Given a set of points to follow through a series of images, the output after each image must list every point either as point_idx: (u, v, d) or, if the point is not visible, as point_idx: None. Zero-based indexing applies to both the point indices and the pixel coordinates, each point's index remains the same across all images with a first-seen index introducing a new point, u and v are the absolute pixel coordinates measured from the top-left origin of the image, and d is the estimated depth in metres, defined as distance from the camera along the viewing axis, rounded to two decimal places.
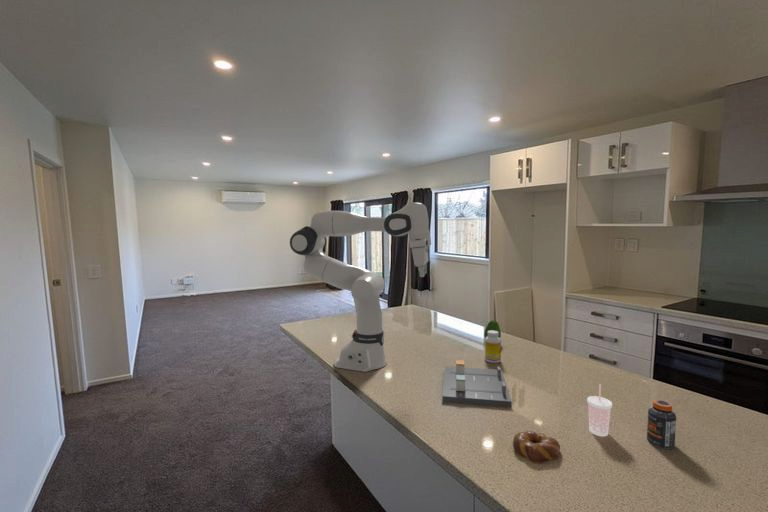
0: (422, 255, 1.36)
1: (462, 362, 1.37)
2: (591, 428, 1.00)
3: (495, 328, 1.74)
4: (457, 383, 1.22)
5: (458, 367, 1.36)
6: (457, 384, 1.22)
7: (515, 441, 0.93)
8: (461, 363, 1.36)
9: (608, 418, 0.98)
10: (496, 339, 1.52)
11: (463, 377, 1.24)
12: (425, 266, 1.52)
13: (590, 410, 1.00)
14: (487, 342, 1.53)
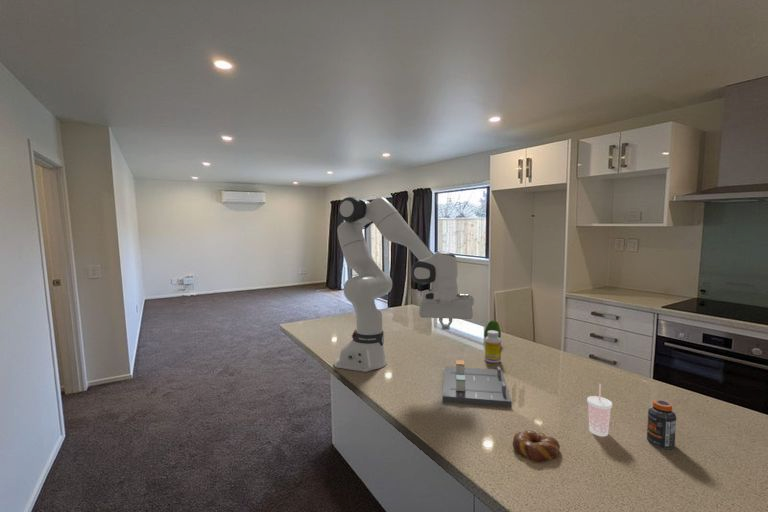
0: None
1: (462, 362, 1.37)
2: (591, 428, 1.00)
3: (495, 328, 1.74)
4: (457, 383, 1.22)
5: (458, 367, 1.36)
6: (457, 384, 1.22)
7: (515, 440, 0.93)
8: (461, 363, 1.36)
9: (608, 418, 0.98)
10: (496, 339, 1.52)
11: (463, 377, 1.24)
12: (449, 322, 1.36)
13: (590, 410, 1.00)
14: (487, 342, 1.53)
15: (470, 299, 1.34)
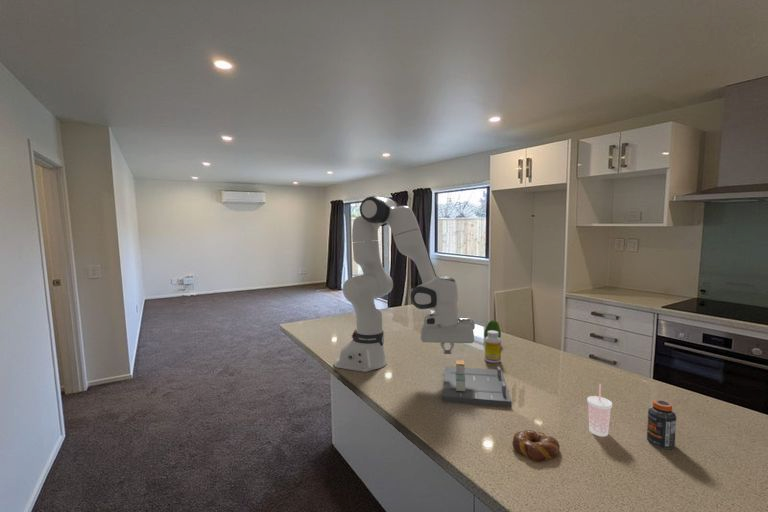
0: (421, 331, 1.38)
1: (462, 362, 1.37)
2: (591, 428, 1.00)
3: (495, 328, 1.74)
4: (457, 383, 1.22)
5: (458, 367, 1.36)
6: (457, 384, 1.22)
7: (515, 440, 0.93)
8: (461, 363, 1.36)
9: (608, 418, 0.98)
10: (496, 339, 1.52)
11: (463, 377, 1.24)
12: (451, 346, 1.37)
13: (590, 410, 1.00)
14: (487, 342, 1.53)
15: (471, 323, 1.35)
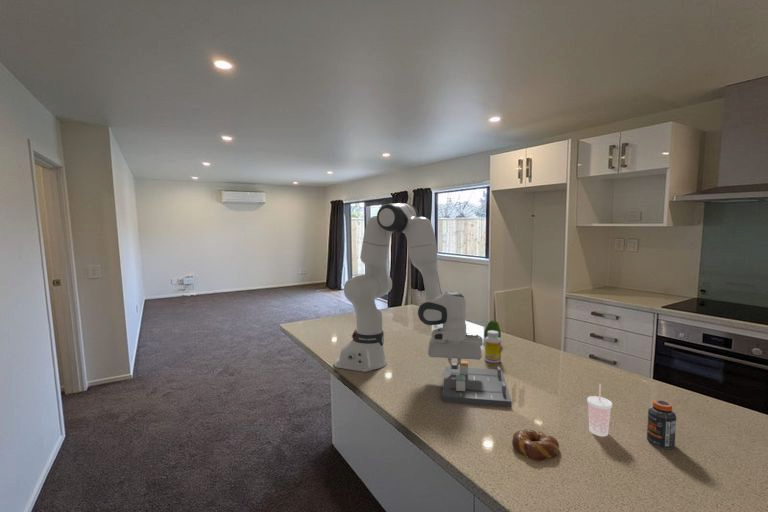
0: None
1: (465, 362, 1.37)
2: (591, 428, 1.00)
3: (495, 328, 1.74)
4: (457, 383, 1.22)
5: (462, 368, 1.35)
6: (457, 384, 1.22)
7: (514, 439, 0.94)
8: (464, 363, 1.36)
9: (608, 418, 0.98)
10: (496, 339, 1.52)
11: (463, 377, 1.24)
12: (458, 361, 1.37)
13: (590, 410, 1.00)
14: (487, 342, 1.53)
15: (479, 339, 1.35)
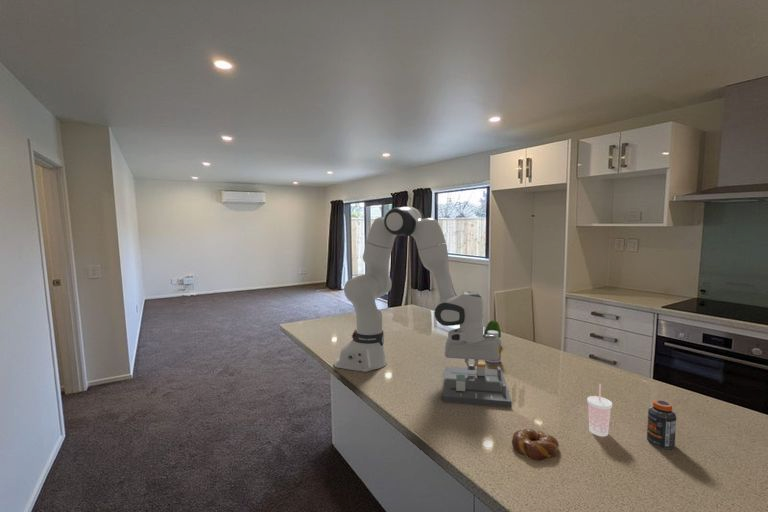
0: (445, 347, 1.36)
1: (483, 363, 1.36)
2: (591, 428, 1.00)
3: (495, 328, 1.74)
4: (457, 383, 1.22)
5: (479, 369, 1.34)
6: (457, 384, 1.22)
7: (514, 439, 0.94)
8: (482, 364, 1.35)
9: (608, 418, 0.98)
10: None
11: (463, 377, 1.24)
12: (475, 362, 1.36)
13: (590, 410, 1.00)
14: None
15: (496, 340, 1.34)
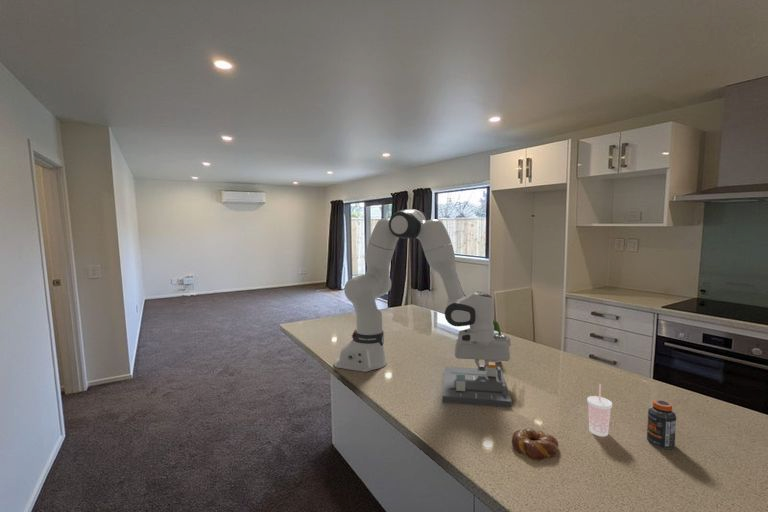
0: (455, 347, 1.36)
1: (493, 364, 1.35)
2: (591, 428, 1.00)
3: (495, 328, 1.74)
4: (457, 383, 1.22)
5: (490, 369, 1.33)
6: (457, 384, 1.22)
7: (514, 438, 0.94)
8: (492, 365, 1.34)
9: (608, 418, 0.98)
10: None
11: (463, 377, 1.24)
12: (485, 363, 1.35)
13: (590, 410, 1.00)
14: None
15: (507, 341, 1.33)
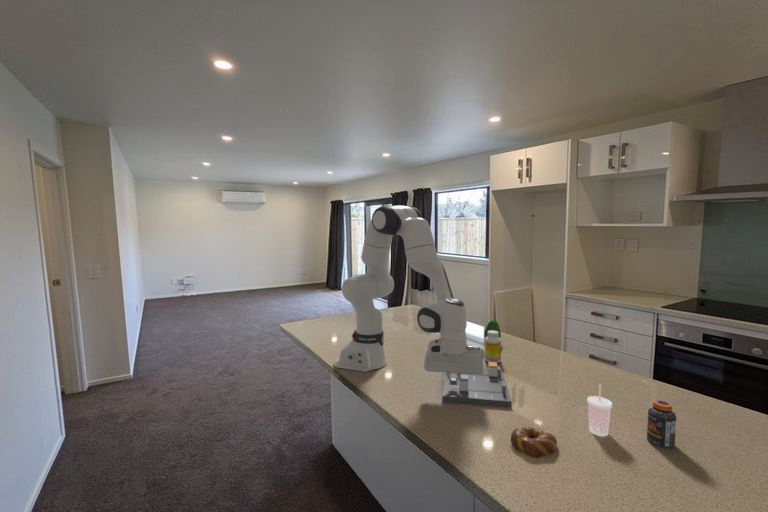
0: None
1: (495, 364, 1.35)
2: (591, 428, 1.00)
3: (495, 328, 1.74)
4: (460, 383, 1.22)
5: (491, 369, 1.33)
6: (460, 384, 1.22)
7: (513, 436, 0.95)
8: (494, 365, 1.34)
9: (608, 418, 0.98)
10: (496, 339, 1.52)
11: (466, 377, 1.23)
12: (457, 376, 1.23)
13: (590, 410, 1.00)
14: (487, 342, 1.53)
15: (481, 352, 1.21)
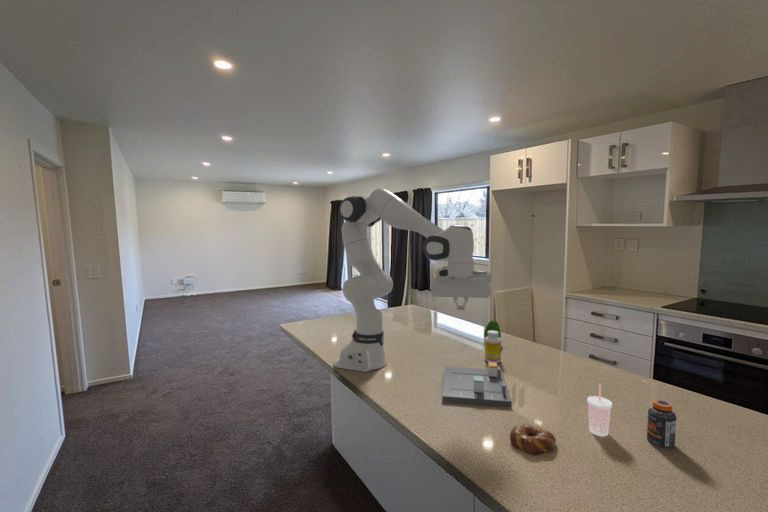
0: None
1: (495, 364, 1.35)
2: (591, 428, 1.00)
3: (495, 328, 1.74)
4: (475, 384, 1.21)
5: (491, 369, 1.33)
6: (475, 385, 1.21)
7: (512, 434, 0.96)
8: (494, 365, 1.34)
9: (608, 418, 0.98)
10: (496, 339, 1.52)
11: (481, 378, 1.22)
12: (465, 301, 1.26)
13: (590, 410, 1.00)
14: (487, 342, 1.53)
15: (487, 276, 1.24)
